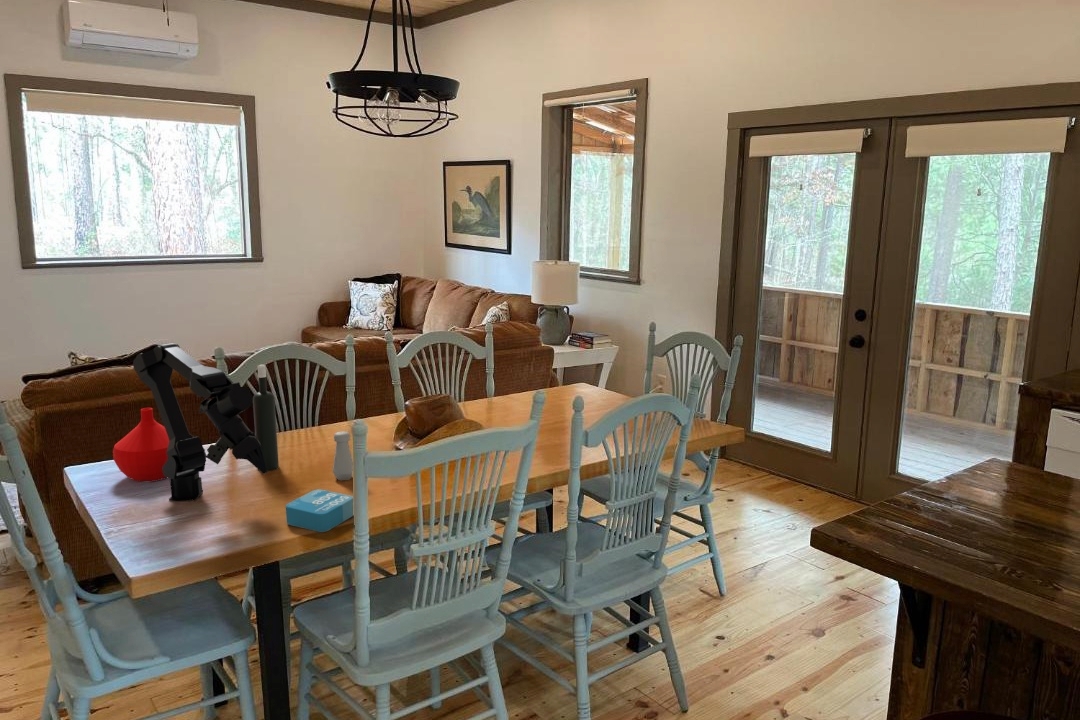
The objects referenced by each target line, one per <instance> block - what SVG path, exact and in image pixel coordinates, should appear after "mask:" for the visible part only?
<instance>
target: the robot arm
mask: <svg viewBox="0 0 1080 720" xmlns="http://www.w3.org/2000/svg"><path fill="white" fill-rule="evenodd" d="M132 367H133V369H134V371H135V372H136V374H137V376H138V378H139V380H140V381H141V382H142V383H144V384H145V386H147V387H149V389H150V391H151V393H152V396H153V399H154V402H155V404H156V407H157V409H158V413H159V416H160V418H161V421H162V424H163V426H164V427H165V430H166V432H167V435H168V438H169V444H168V448H167V452H166V453H167V457H168V459H167V461H166V463H165V464H164V466H163V468H162V471H163V474H164V476H165V477H168V478H167V479H169V483H170V485H169V486H170V495H171V496H170V497H169V498H168V501H170V502H175V501H179V502H180V501H182V502H183V501H196V500H197V498H198V497H200V495H201V494H202V493H204V490H203V481H202V477H201V476H200V472H204V471H205V467H206V462H207V459H209V460H210V461H211V462H212V463H214V464H215V465H219V463H221V462H222V458H223V457H224V456H225V455H226V453H227V452H228V450H231V454H232V456H233V457H234V458H235V460H246V461H248V462H249V463H250V464H252V466H253V467H255V468H256V469H257V471H259V470H260V473H262V474H263V475H264V474H266V473H267V472H268V471H267V468H266V464H265V460H264V456H263V453H262V449H261V445H260V442H259V441H258V440H257V439H258V438H257V437H256V435H255V432H253V431H251V429H250V428H249V427H248V426H247V424H246V423H245V422H244V420H243V419H242V418H241V415H239V414H241V413H243V412H245V411H247V410H248V409H250V407H251V406H253V394H252V393H251V392H250V391H249V390H248V389H247V388H245V387H243V386H241V383H240V382H239V381H238V382H233V381H232V380H231V379H230V377H228V376H227V374H226V373H224V371H222V370H220V369H218V368H216V367H212V366H211V367H210V366H205V365H203V364H202V363H201V362H199V361H198V360H197V359H195V358H194V357H193V356H191V355H189V354H188V353H187V352H186V351H184V350H183V349H182V348H181V347H180V345H179V344H178V343H174V342H171V343H165V344H159V345H157V346H155V347H154V348H152V349H149V350H148V351H145V352H141V353H137V354H136V357H135V358H134V359H133V362H132ZM174 371H176V373H178V374H179V375H180V376H181V377H183V378H185V379H186V380H187V381H188V382H189V389H190V390H191V392H193V393H194V395H195V396H196V397H198V398H200V399H204V400H202V401H200V402H199V410H198V412H199V414H203V413H204V414H205V415H206V416H207V417H208V419H209V421H211V423H212V424H213V425H214V426H215V428H216V429H217V430H218V435H219V436H220V437H219V438H218V439H217V441H216V442H215V443H214V444H210V446H208V448H207V450H206V449H205V448H204V446H203V444H202V439H201V438H200V437H199V436H194V435H192V434H191V433H190V431H189V429H188V426H187V423H186V421H185V417H184V415H183V412H182V410H181V407H180V404H179V402H178V399H177V395H176V393H175V391H174V388H173V385H172V383H171V382H172V381H171V380H172V375H173V372H174ZM206 451H207V453H206Z"/></svg>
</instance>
